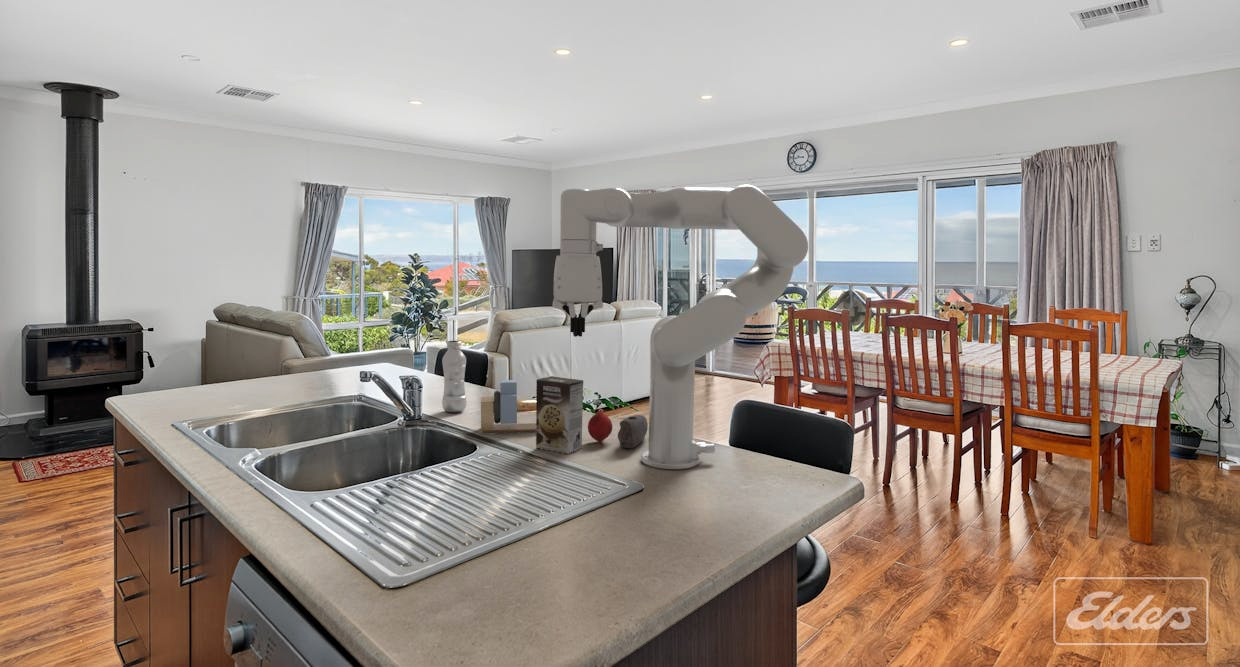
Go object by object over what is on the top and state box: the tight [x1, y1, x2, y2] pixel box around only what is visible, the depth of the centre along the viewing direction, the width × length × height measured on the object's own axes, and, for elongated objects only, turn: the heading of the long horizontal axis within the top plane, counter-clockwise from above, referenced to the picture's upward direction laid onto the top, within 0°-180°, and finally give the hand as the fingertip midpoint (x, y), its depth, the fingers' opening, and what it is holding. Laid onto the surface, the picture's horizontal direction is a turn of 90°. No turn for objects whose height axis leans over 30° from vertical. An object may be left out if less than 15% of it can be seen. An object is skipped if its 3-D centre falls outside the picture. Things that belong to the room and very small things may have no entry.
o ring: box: [493, 390, 501, 424], centre depth 170 cm, size 2×8×8 cm, turn 10°
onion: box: [587, 408, 613, 443], centre depth 161 cm, size 6×6×8 cm
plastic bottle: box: [441, 340, 467, 414], centre depth 189 cm, size 6×7×20 cm
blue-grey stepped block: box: [499, 379, 518, 424], centre depth 170 cm, size 4×7×10 cm, turn 10°
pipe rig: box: [480, 396, 536, 434], centre depth 171 cm, size 17×6×8 cm, turn 100°
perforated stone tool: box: [617, 414, 649, 449], centre depth 160 cm, size 15×5×7 cm, turn 159°
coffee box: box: [535, 375, 584, 455], centre depth 154 cm, size 9×6×16 cm
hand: (577, 335), depth 144 cm, fingers closed
